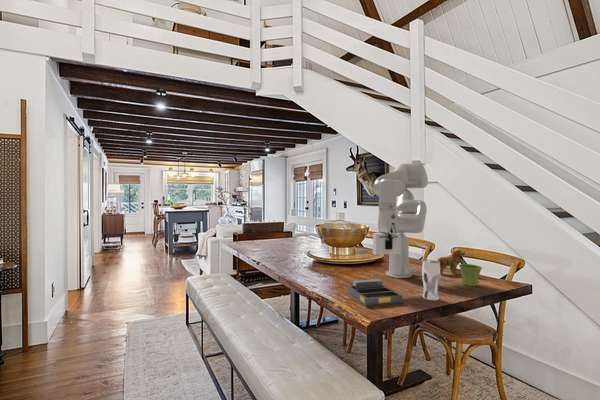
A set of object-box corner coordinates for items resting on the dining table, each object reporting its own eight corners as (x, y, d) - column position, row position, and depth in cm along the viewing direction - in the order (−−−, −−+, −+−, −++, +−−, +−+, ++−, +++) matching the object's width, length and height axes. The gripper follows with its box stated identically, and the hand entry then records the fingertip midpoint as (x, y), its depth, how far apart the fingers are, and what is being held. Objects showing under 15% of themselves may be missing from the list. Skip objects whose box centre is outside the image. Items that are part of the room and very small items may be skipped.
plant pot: (479, 283, 154) (479, 264, 154) (483, 288, 145) (484, 269, 145) (457, 281, 157) (457, 263, 157) (460, 286, 148) (460, 267, 148)
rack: (380, 290, 142) (380, 277, 142) (402, 303, 126) (402, 289, 126) (347, 292, 138) (347, 279, 138) (365, 306, 122) (366, 292, 122)
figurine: (438, 275, 168) (437, 250, 168) (432, 273, 174) (431, 248, 174) (465, 274, 169) (465, 249, 169) (459, 271, 176) (458, 247, 175)
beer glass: (418, 295, 135) (418, 259, 135) (434, 295, 136) (435, 259, 135) (426, 301, 128) (426, 263, 128) (443, 301, 129) (443, 263, 128)
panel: (396, 252, 149) (397, 232, 149) (400, 253, 146) (400, 233, 146) (372, 253, 146) (372, 233, 146) (375, 254, 143) (376, 233, 143)
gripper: (405, 208, 139) (404, 251, 139) (385, 206, 154) (385, 245, 155) (389, 207, 137) (388, 251, 137) (371, 206, 153) (370, 246, 153)
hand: (386, 248), depth 146 cm, fingers closed on panel, 3 cm apart
